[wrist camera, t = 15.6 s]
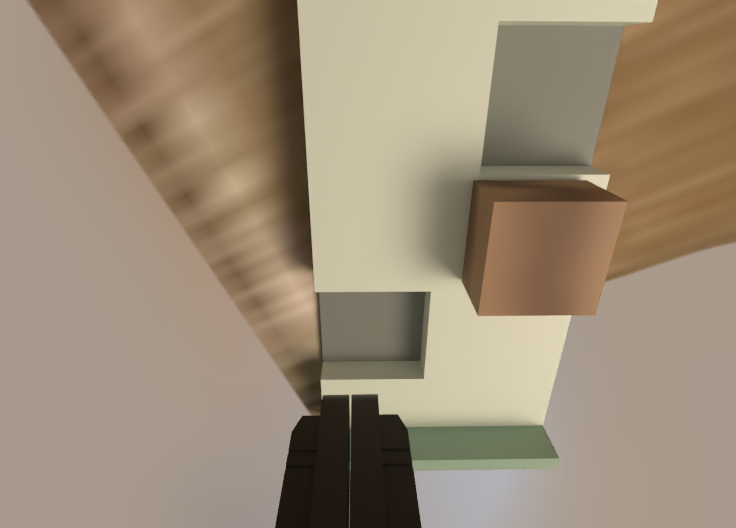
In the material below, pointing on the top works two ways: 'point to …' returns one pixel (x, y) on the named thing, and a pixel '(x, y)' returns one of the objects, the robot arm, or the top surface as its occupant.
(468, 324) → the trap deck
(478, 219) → the walnut block
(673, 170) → the top surface
